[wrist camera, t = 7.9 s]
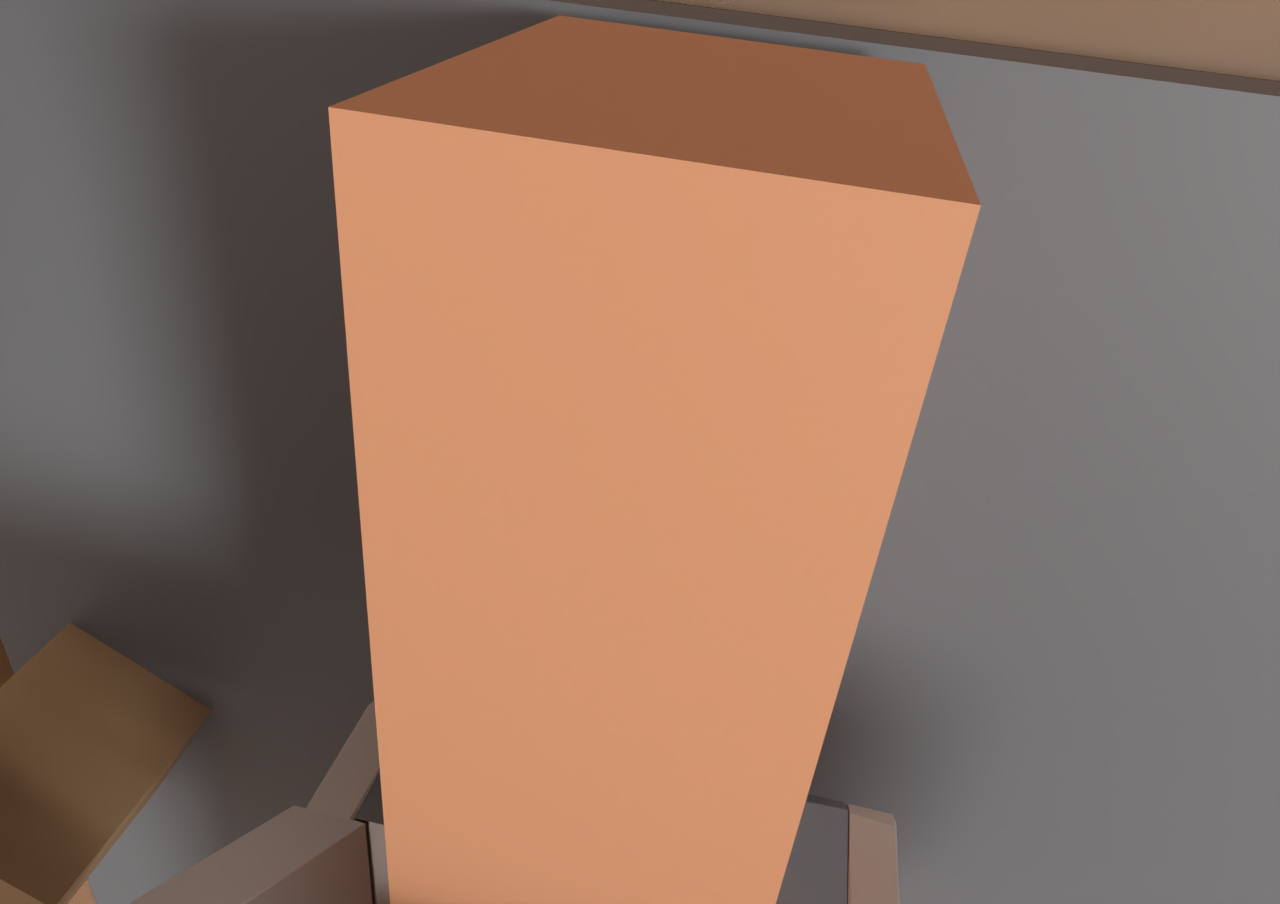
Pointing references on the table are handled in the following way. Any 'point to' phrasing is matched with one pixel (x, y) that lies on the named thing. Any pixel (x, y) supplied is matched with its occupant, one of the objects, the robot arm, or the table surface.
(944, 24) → the table surface
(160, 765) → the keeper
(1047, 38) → the table surface
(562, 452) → the square column with socket
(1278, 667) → the board
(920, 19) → the table surface
